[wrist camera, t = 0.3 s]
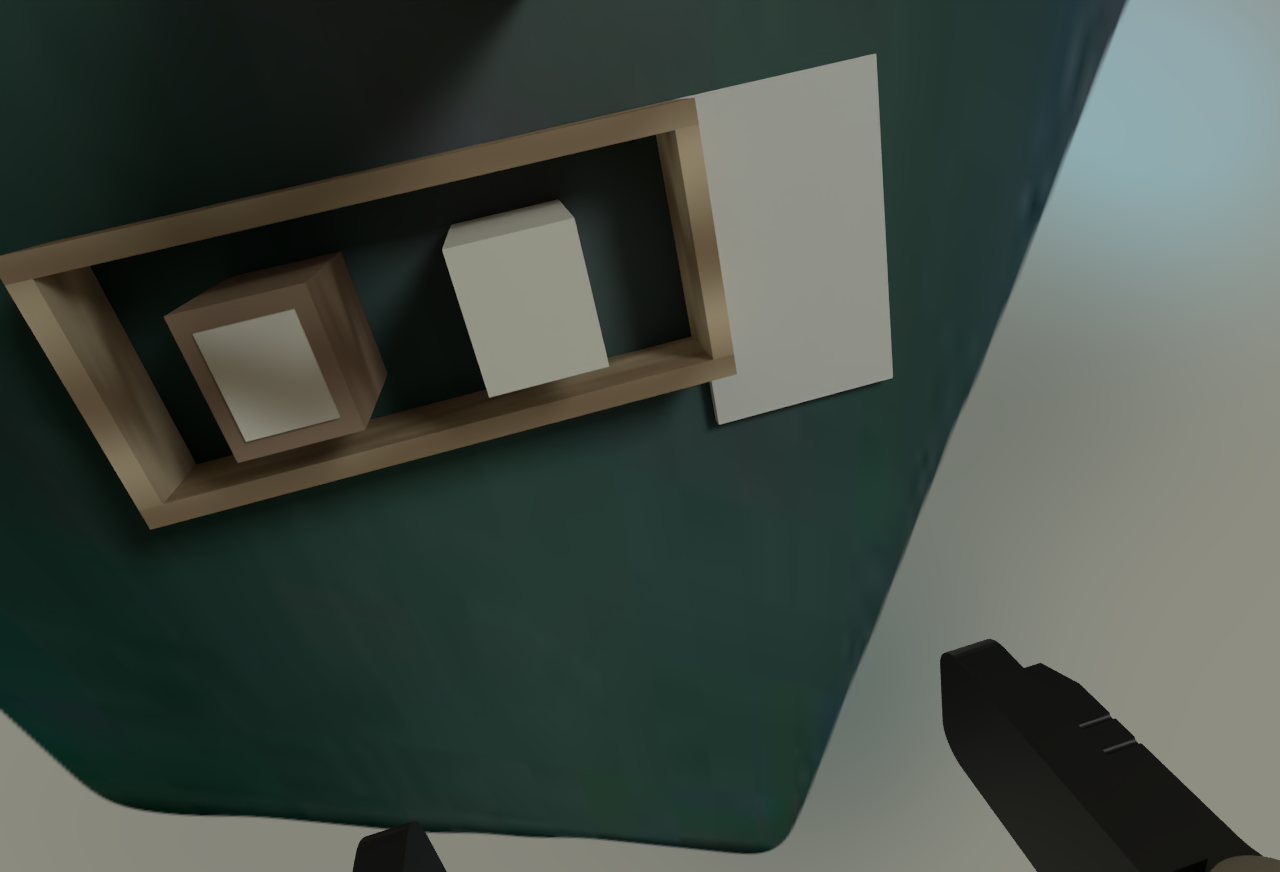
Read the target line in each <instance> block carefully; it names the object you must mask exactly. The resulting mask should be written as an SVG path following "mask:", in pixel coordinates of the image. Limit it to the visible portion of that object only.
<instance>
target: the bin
mask: <svg viewBox="0 0 1280 872" xmlns="http://www.w3.org/2000/svg"><path fill="white" fill-rule="evenodd" d="M655 134H656V139H657V145H658V150H659V156H660V162H661V167H662V173H663V179H664V184H665V190H666V195H667V201H668V207H669V212H670V218H671V223H672V229H673V235H674V240H675V246H676V251H677V257H678V263H679V268H680V274H681V279H682V285H683V291H684V296H685V302H686V308H687V313H688V319H689V324H690V330H691V337H687V338H683V339H680V340H676V341H672V342H668V343H664V344H660V345H656V346H652V347H649V348H645V349H641V350H637V351H633V352H629V353H625V354H622V355H618V356H614V357H610V358H607V359H608V363H609V367H605V368H602V369H598V370H594V371H590V372H586V373H582V374H579V375H575V376H571V377H567V378H563V379H559V380H555V381H552V382H548V383H544V384H540V385H536V386H532V387H529V388H525V389H521V390H517V391H513V392H509V393H505V394H502V395H498V396H494V397H490V398H489V395H488V392H487V389H486V390H482V391H478V392H475V393H471V394H467V395H463V396H459V397H455V398H451V399H448V400H444V401H440V402H436V403H432V404H428V405H424V406H420V407H417V408H413V409H409V410H405V411H401V412H397V413H393V414H390V415H386V416H382V417H378V418H374V419H370V420H369V422H368V425H367V427H366V430H363V431H359V432H356V433H352V434H348V435H344V436H340V437H336V438H332V439H329V440H325V441H321V442H317V443H313V444H309V445H305V446H302V447H298V448H294V449H290V450H286V451H282V452H279V453H275V454H271V455H267V456H263V457H259V458H255V459H252V460H248V461H244V462H240V463H238V462H237V460H236V458H235V456H234V455H231V456H227V457H223V458H219V459H216V460H212V461H208V462H204V463H200V464H196V463H195V461H194V459H193V457H192V455H191V453H190V451H189V450H188V448H187V446H186V444H185V442H184V440H183V438H182V437H181V435H180V433H179V431H178V429H177V427H176V425H175V424H174V422H173V420H172V418H171V416H170V414H169V412H168V410H167V409H166V407H165V405H164V403H163V401H162V399H161V397H160V396H159V394H158V392H157V390H156V388H155V386H154V384H153V383H152V381H151V379H150V377H149V375H148V373H147V371H146V370H145V368H144V366H143V364H142V362H141V360H140V358H139V356H138V355H137V353H136V351H135V349H134V347H133V345H132V343H131V342H130V340H129V338H128V336H127V334H126V332H125V330H124V329H123V327H122V325H121V323H120V321H119V319H118V317H117V316H116V314H115V312H114V310H113V308H112V306H111V304H110V302H109V301H108V299H107V297H106V295H105V293H104V291H103V289H102V288H101V286H100V284H99V282H98V280H97V278H96V276H95V275H94V273H93V271H92V269H91V267H90V266H91V265H95V264H100V263H104V262H108V261H113V260H117V259H121V258H125V257H130V256H134V255H138V254H143V253H147V252H151V251H156V250H160V249H164V248H169V247H173V246H177V245H181V244H186V243H190V242H194V241H199V240H203V239H207V238H212V237H216V236H220V235H225V234H229V233H233V232H237V231H242V230H246V229H250V228H255V227H259V226H263V225H268V224H272V223H276V222H281V221H285V220H289V219H294V218H298V217H302V216H306V215H311V214H315V213H319V212H324V211H328V210H332V209H337V208H341V207H345V206H350V205H354V204H358V203H362V202H367V201H371V200H375V199H380V198H384V197H388V196H393V195H397V194H401V193H406V192H410V191H414V190H418V189H423V188H427V187H431V186H436V185H440V184H444V183H449V182H453V181H457V180H462V179H466V178H470V177H474V176H479V175H483V174H487V173H492V172H496V171H500V170H505V169H509V168H513V167H518V166H522V165H526V164H531V163H535V162H539V161H543V160H548V159H552V158H556V157H561V156H565V155H569V154H574V153H578V152H582V151H587V150H591V149H595V148H599V147H604V146H608V145H612V144H617V143H621V142H625V141H630V140H634V139H638V138H643V137H647V136H651V135H655ZM0 278H1V280H2V282H3V283H4V285H5V287H6V288H7V290H8V292H9V293H10V295H11V297H12V298H13V300H14V302H15V304H16V305H17V307H18V309H19V310H20V312H21V314H22V315H23V317H24V319H25V320H26V322H27V324H28V325H29V327H30V329H31V330H32V332H33V334H34V335H35V337H36V339H37V340H38V342H39V344H40V345H41V347H42V349H43V350H44V352H45V354H46V356H47V357H48V359H49V361H50V362H51V364H52V366H53V367H54V369H55V371H56V372H57V374H58V376H59V377H60V379H61V381H62V382H63V384H64V386H65V387H66V389H67V391H68V392H69V394H70V396H71V397H72V399H73V401H74V402H75V404H76V406H77V408H78V409H79V411H80V413H81V414H82V416H83V418H84V419H85V421H86V423H87V424H88V426H89V428H90V429H91V431H92V433H93V434H94V436H95V438H96V439H97V441H98V443H99V444H100V446H101V448H102V449H103V451H104V453H105V454H106V456H107V458H108V460H109V461H110V463H111V465H112V466H113V468H114V470H115V471H116V473H117V475H118V476H119V478H120V480H121V481H122V483H123V485H124V486H125V488H126V490H127V491H128V493H129V495H130V496H131V498H132V500H133V501H134V503H135V505H136V506H137V508H138V510H139V512H140V513H141V515H142V517H143V518H144V520H145V522H146V523H147V525H148V527H149V528H150V530H151V529H155V528H159V527H162V526H166V525H170V524H174V523H178V522H181V521H185V520H189V519H193V518H196V517H200V516H204V515H208V514H211V513H215V512H219V511H223V510H227V509H230V508H234V507H238V506H242V505H245V504H249V503H253V502H257V501H261V500H264V499H268V498H272V497H276V496H279V495H283V494H287V493H291V492H295V491H298V490H302V489H306V488H310V487H313V486H317V485H321V484H325V483H328V482H332V481H336V480H340V479H344V478H347V477H351V476H355V475H359V474H362V473H366V472H370V471H374V470H378V469H381V468H385V467H389V466H393V465H396V464H400V463H404V462H408V461H412V460H415V459H419V458H423V457H427V456H430V455H434V454H438V453H442V452H446V451H449V450H453V449H457V448H461V447H464V446H468V445H472V444H476V443H479V442H483V441H487V440H491V439H495V438H498V437H502V436H506V435H510V434H513V433H517V432H521V431H525V430H529V429H532V428H536V427H540V426H544V425H547V424H551V423H555V422H559V421H563V420H566V419H570V418H574V417H578V416H581V415H585V414H589V413H593V412H596V411H600V410H604V409H608V408H612V407H615V406H619V405H623V404H627V403H630V402H634V401H638V400H642V399H646V398H649V397H653V396H657V395H661V394H664V393H668V392H672V391H676V390H680V389H683V388H687V387H691V386H695V385H698V384H702V383H706V382H710V381H713V380H717V379H721V378H725V377H729V376H732V375H736V374H737V371H736V364H735V358H734V351H733V345H732V338H731V332H730V325H729V318H728V312H727V305H726V299H725V292H724V286H723V279H722V273H721V266H720V260H719V253H718V247H717V240H716V234H715V227H714V220H713V214H712V207H711V201H710V194H709V188H708V181H707V175H706V168H705V162H704V155H703V149H702V142H701V136H700V129H699V122H698V116H697V109H696V103H695V98H686V99H677V100H670V101H665V102H661V103H657V104H652V105H648V106H643V107H639V108H635V109H630V110H626V111H621V112H617V113H613V114H608V115H604V116H600V117H595V118H591V119H586V120H582V121H578V122H573V123H569V124H564V125H560V126H556V127H551V128H547V129H543V130H538V131H534V132H529V133H525V134H521V135H516V136H512V137H508V138H503V139H499V140H494V141H490V142H486V143H481V144H477V145H472V146H468V147H464V148H459V149H455V150H451V151H446V152H442V153H437V154H433V155H429V156H424V157H420V158H416V159H411V160H407V161H402V162H398V163H394V164H389V165H385V166H380V167H376V168H372V169H367V170H363V171H359V172H354V173H350V174H345V175H341V176H337V177H332V178H328V179H323V180H319V181H315V182H310V183H306V184H302V185H297V186H293V187H288V188H284V189H280V190H275V191H271V192H267V193H262V194H258V195H253V196H249V197H245V198H240V199H236V200H231V201H227V202H223V203H218V204H214V205H210V206H205V207H201V208H196V209H192V210H188V211H183V212H179V213H174V214H170V215H166V216H161V217H157V218H153V219H148V220H144V221H139V222H135V223H131V224H126V225H122V226H118V227H113V228H109V229H104V230H100V231H96V232H91V233H87V234H82V235H78V236H74V237H69V238H65V239H61V240H56V241H52V242H48V243H44V244H41V245H37V246H33V247H30V248H26V249H23V250H19V251H16V252H12V253H8V254H5V255H1V256H0Z"/></svg>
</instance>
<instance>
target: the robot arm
mask: <svg viewBox="0 0 1280 872" xmlns="http://www.w3.org/2000/svg"><path fill="white" fill-rule="evenodd" d="M940 668H941V669H940V670H941V693H942V713H943V714H942V716H943V726H944V731H945V734H946V737H947V740H948V743H949V745H950V747H951V750H952V752H953V754H954V756H955V757H956V759H957V761H958V763H959V764H960V766H961V767H962V768H963V770H964V771H965V773H966V774H967V775H968V777H969V778H970V779H971V781H972V782H973V784H974V785H975V787H976V788H977V789H978V791H979V792H980V793H981V795H982V796H983V798H984V799H985V800H986V802H987V803H988V804H989V806H990V807H991V809H992V810H993V811H994V813H995V814H996V815H997V817H998V818H999V819H1000V821H1001V822H1002V823H1003V825H1004V826H1005V828H1006V829H1007V831H1008V832H1009V833H1010V835H1011V836H1012V837H1013V839H1014V840H1015V842H1016V843H1017V844H1018V846H1019V847H1020V849H1021V850H1022V851H1023V853H1024V854H1025V855H1026V857H1027V858H1028V860H1029V861H1030V862H1031V864H1032V865H1033V867H1034V868H1035V869H1036V871H1037V872H1280V860H1276V859H1273V858H1268V857H1263V856H1262V855H1260V854H1259V853H1258V852H1256V851H1255V850H1254V849H1252V848H1251V847H1250V846H1248V845H1247V844H1246V843H1245V842H1244V841H1243V840H1242V839H1240V838H1239V837H1238V836H1237V835H1236V834H1235V833H1234V832H1233V831H1232V830H1231V829H1230V828H1229V827H1228V826H1227V825H1226V824H1225V823H1224V822H1223V821H1221V820H1220V819H1219V818H1218V817H1217V816H1216V815H1215V814H1214V813H1213V812H1212V811H1211V810H1210V809H1209V808H1208V807H1207V806H1206V805H1205V804H1204V803H1203V802H1202V801H1201V800H1200V799H1199V798H1198V797H1197V796H1196V795H1194V794H1193V793H1192V792H1191V791H1190V790H1189V789H1188V788H1187V787H1186V786H1185V785H1184V784H1183V783H1182V782H1181V781H1180V780H1179V779H1178V778H1177V777H1176V776H1175V775H1173V773H1172V772H1170V771H1169V770H1168V769H1167V768H1166V767H1165V766H1164V765H1163V764H1162V763H1161V762H1160V761H1159V760H1158V759H1157V758H1156V757H1155V756H1154V755H1153V754H1152V753H1151V752H1150V751H1149V750H1148V749H1147V748H1146V747H1145V746H1144V745H1143V744H1138V743H1137V742H1136V740H1135V737H1134V736H1133V735H1132V734H1131V733H1130V732H1129V731H1128V730H1127V729H1126V728H1125V727H1124V726H1123V725H1122V724H1121V723H1120V722H1119V721H1117V719H1112V718H1111V716H1110V714H1109V712H1108V711H1107V710H1106V709H1105V708H1104V707H1103V706H1102V705H1101V704H1100V703H1099V702H1098V701H1097V700H1096V699H1095V698H1094V697H1093V696H1092V695H1090V694H1089V693H1088V692H1087V691H1086V690H1085V689H1084V688H1083V687H1082V686H1081V685H1080V684H1079V683H1077V682H1075V681H1073V680H1071V679H1070V678H1068V677H1066V676H1064V675H1062V674H1060V673H1058V672H1057V671H1054V670H1053V669H1051V668H1049V667H1047V666H1045V665H1043V664H1042V663H1039V664H1036V665H1032V666H1030V667H1026V668H1023V667H1022V666H1021V665H1020V664H1019V663H1018V662H1017V661H1016V660H1015V659H1014V658H1013V657H1012V656H1011V654H1010V653H1008V651H1007V650H1006V649H1005V648H1004V647H1003V646H1001V644H999V643H998V642H996V641H995V640H992V639H987V640H984V641H980V642H977V643H974V644H972V645H968V646H965V647H962V648H959V649H956V650H953V651H949V652H946V653H944V654H942V656H941V660H940ZM353 872H446V870H445V868H444V866H443V864H442V862H441V861H440V859H439V857H438V855H437V853H436V851H435V849H434V847H433V846H432V844H431V842H430V840H429V838H428V836H427V835H426V833H425V831H424V829H423V827H422V826H421V824H420V823H419V822H417V821H413V822H410V823H407V824H403V825H400V826H397V827H394V828H391V829H388V830H385V831H382V832H378V833H376V834H373V835H369V836H366V837H364V838H363V839H362V840H361V841H360V843H359V845H358V848H357V851H356V856H355V861H354V867H353Z"/></svg>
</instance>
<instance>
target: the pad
mask: <svg viewBox="0 0 1280 872" xmlns="http://www.w3.org/2000/svg"><path fill="white" fill-rule="evenodd" d="M686 98H695V103H696V109H697V116H698V122H699V129H700V136H701V142H702V149H703V155H704V162H705V168H706V175H707V181H708V188H709V194H710V201H711V207H712V214H713V220H714V227H715V234H716V240H717V247H718V253H719V260H720V266H721V273H722V279H723V286H724V292H725V299H726V305H727V312H728V318H729V325H730V332H731V338H732V345H733V351H734V358H735V364H736V371H737V374H736V375H732V376H729V377H725V378H721V379H717V380H713V381H710V382H709V384H710V389H711V395H712V401H713V407H714V413H715V419H716V421H717V423H718V424H719V425H720V424H724V423H728V422H731V421H735V420H739V419H743V418H746V417H750V416H754V415H757V414H761V413H765V412H768V411H772V410H776V409H779V408H783V407H787V406H791V405H794V404H798V403H802V402H805V401H809V400H813V399H816V398H820V397H824V396H827V395H831V394H835V393H839V392H842V391H846V390H850V389H853V388H857V387H861V386H864V385H868V384H872V383H875V382H879V381H883V380H887V379H890V378H893V371H892V351H891V332H890V312H889V293H888V273H887V254H886V235H885V215H884V196H883V176H882V157H881V138H880V118H879V99H878V79H877V60H876V54H872V55H867V56H862V57H858V58H854V59H849V60H845V61H841V62H836V63H832V64H827V65H823V66H819V67H814V68H810V69H806V70H801V71H797V72H792V73H788V74H784V75H779V76H775V77H770V78H766V79H762V80H757V81H753V82H749V83H744V84H740V85H735V86H731V87H727V88H722V89H718V90H713V91H709V92H705V93H700V94H696V95H692V96H687V97H683V98H678V99H686ZM674 100H677V99H674Z"/></svg>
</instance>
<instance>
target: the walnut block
mask: <svg viewBox="0 0 1280 872" xmlns="http://www.w3.org/2000/svg"><path fill="white" fill-rule="evenodd" d="M164 319H165V321H166V323H167V325H168V327H169V329H170V330H171V332H172V334H173V336H174V338H175V340H176V342H177V344H178V346H179V348H180V350H181V352H182V354H183V356H184V358H185V360H186V362H187V364H188V366H189V368H190V370H191V372H192V374H193V376H194V378H195V380H196V382H197V384H198V386H199V388H200V390H201V392H202V393H203V395H204V397H205V399H206V401H207V403H208V405H209V407H210V409H211V411H212V413H213V415H214V417H215V419H216V421H217V423H218V425H219V427H220V429H221V431H222V433H223V435H224V437H225V439H226V441H227V443H228V445H229V447H230V449H231V451H232V453H233V454H234V456H235V458H236V460H237V462H238V463H240V462H244V461H248V460H252V459H255V458H259V457H263V456H267V455H271V454H275V453H279V452H282V451H286V450H290V449H294V448H298V447H302V446H305V445H309V444H313V443H317V442H321V441H325V440H329V439H332V438H336V437H340V436H344V435H348V434H352V433H356V432H359V431H363V430H366V427H367V425H368V422H369V420H370V417H371V415H372V412H373V410H374V407H375V405H376V402H377V400H378V397H379V395H380V392H381V390H382V387H383V385H384V382H385V380H386V377H387V375H388V373H387V370H386V368H385V365H384V363H383V360H382V357H381V355H380V352H379V349H378V347H377V344H376V342H375V339H374V336H373V334H372V331H371V328H370V326H369V323H368V321H367V318H366V315H365V313H364V310H363V307H362V305H361V302H360V300H359V297H358V294H357V292H356V289H355V286H354V284H353V281H352V279H351V276H350V273H349V271H348V268H347V265H346V263H345V260H344V258H343V255H342V252H341V251H338V252H334V253H329V254H325V255H321V256H317V257H313V258H308V259H304V260H300V261H296V262H292V263H287V264H283V265H279V266H275V267H270V268H266V269H262V270H258V271H254V272H249V273H245V274H241V275H237V276H233V277H228V278H226V279H225V280H223V281H221V282H220V283H218V284H216V285H215V286H213V287H212V288H210V289H208V290H207V291H205V292H203V293H202V294H200V295H198V296H197V297H195V298H193V299H192V300H190V301H188V302H187V303H185V304H184V305H182V306H180V307H179V308H177V309H175V310H174V311H172V312H170V313H169V314H167V315H165V316H164Z"/></svg>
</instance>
